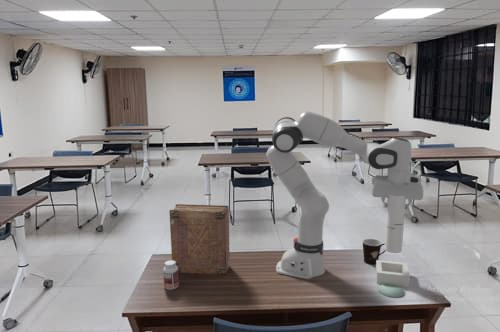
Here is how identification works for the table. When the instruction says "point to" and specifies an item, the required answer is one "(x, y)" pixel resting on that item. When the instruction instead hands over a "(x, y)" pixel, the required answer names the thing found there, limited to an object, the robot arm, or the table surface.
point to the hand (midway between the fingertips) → (396, 208)
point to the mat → (391, 290)
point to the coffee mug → (371, 251)
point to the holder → (392, 273)
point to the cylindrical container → (394, 223)
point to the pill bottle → (171, 275)
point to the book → (200, 238)
